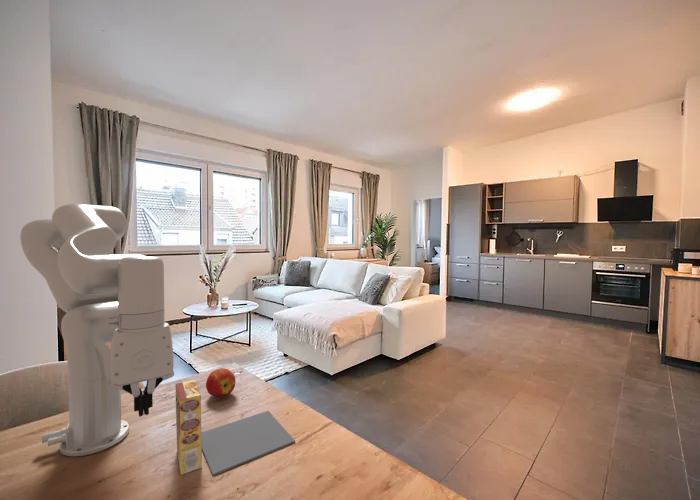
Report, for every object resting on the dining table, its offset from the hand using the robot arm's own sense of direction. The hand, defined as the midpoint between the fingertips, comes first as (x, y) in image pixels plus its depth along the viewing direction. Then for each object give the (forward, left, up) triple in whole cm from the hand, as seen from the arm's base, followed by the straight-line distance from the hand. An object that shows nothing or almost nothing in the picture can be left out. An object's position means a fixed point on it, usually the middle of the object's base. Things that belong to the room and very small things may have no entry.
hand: (143, 412), depth 63 cm
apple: (+21, +25, -13) cm, 35 cm away
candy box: (+8, 0, -13) cm, 15 cm away
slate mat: (+20, 0, -13) cm, 24 cm away
